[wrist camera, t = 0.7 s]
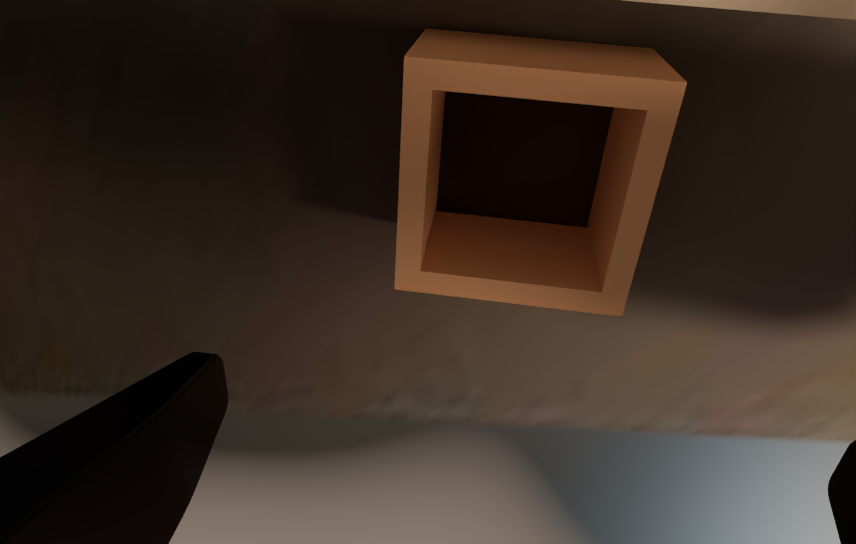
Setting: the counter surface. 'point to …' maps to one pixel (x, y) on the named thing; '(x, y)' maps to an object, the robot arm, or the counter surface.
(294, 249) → the counter surface
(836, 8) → the duct base
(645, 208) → the open square box
